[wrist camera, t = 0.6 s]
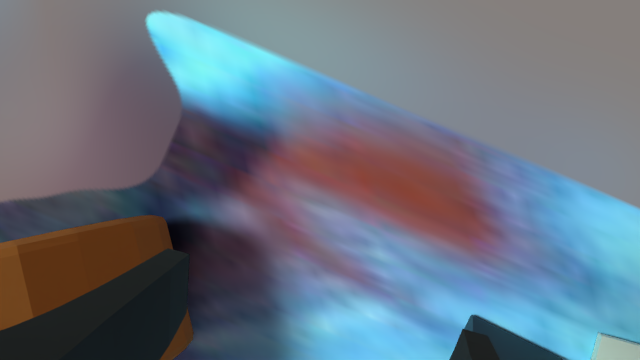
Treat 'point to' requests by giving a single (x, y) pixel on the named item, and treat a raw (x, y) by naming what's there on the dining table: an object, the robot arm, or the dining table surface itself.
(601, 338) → the mat
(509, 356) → the phone stand
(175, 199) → the dining table surface
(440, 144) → the dining table surface
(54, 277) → the orange tape measure
